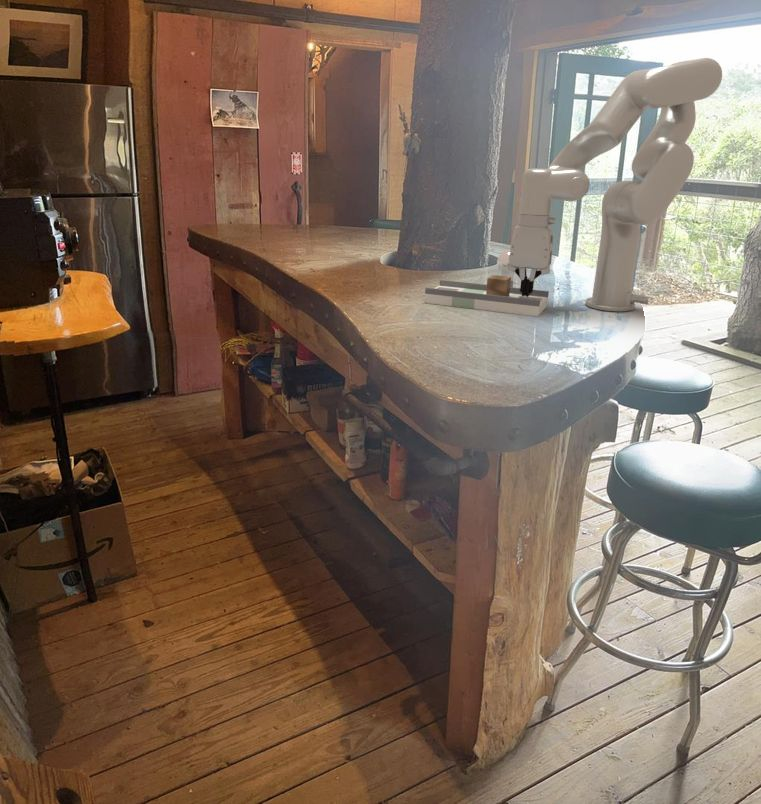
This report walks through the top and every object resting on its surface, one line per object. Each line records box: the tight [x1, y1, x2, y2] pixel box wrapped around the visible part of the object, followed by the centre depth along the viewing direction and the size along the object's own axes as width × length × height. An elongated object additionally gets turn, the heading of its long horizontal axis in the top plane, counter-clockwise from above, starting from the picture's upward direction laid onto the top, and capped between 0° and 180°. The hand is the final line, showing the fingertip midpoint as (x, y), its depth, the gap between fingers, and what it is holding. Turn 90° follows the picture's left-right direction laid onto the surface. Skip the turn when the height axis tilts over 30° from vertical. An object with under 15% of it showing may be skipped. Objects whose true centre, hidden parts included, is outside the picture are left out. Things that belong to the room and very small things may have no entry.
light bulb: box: [496, 248, 517, 288], centre depth 186 cm, size 7×7×12 cm
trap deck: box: [424, 279, 550, 317], centre depth 171 cm, size 30×12×4 cm, turn 66°
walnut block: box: [486, 274, 511, 297], centre depth 169 cm, size 5×5×5 cm
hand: (525, 295), depth 167 cm, fingers closed
